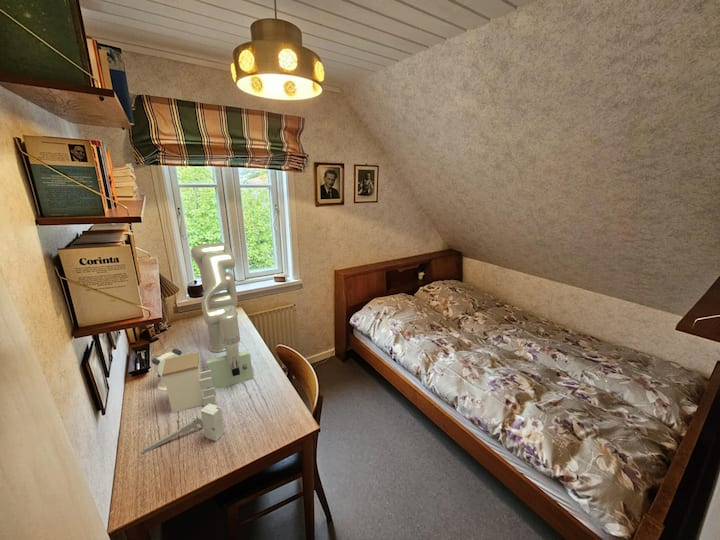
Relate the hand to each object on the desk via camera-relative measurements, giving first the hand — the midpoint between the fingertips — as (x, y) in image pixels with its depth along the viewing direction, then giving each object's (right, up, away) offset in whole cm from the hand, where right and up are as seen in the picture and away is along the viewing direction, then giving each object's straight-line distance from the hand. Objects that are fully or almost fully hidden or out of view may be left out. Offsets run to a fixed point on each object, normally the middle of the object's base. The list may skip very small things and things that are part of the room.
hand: (236, 372), depth 146 cm
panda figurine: (-31, -5, +1) cm, 31 cm away
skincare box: (+3, -14, -28) cm, 32 cm away
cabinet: (-14, -8, -11) cm, 19 cm away
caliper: (-11, -15, -30) cm, 36 cm away
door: (-2, -5, +1) cm, 5 cm away
